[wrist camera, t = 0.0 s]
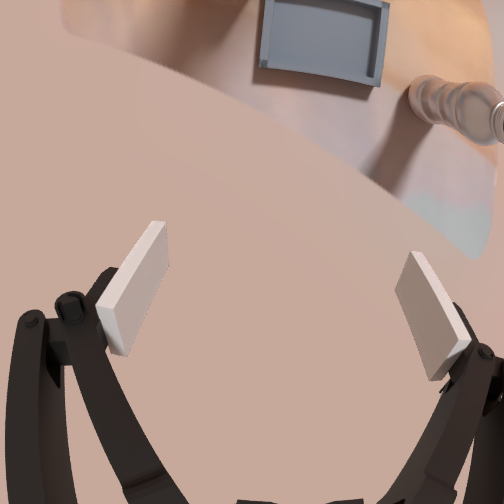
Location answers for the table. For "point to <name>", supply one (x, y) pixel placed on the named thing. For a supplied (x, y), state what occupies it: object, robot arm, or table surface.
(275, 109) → the table surface
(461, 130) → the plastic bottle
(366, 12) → the tray
